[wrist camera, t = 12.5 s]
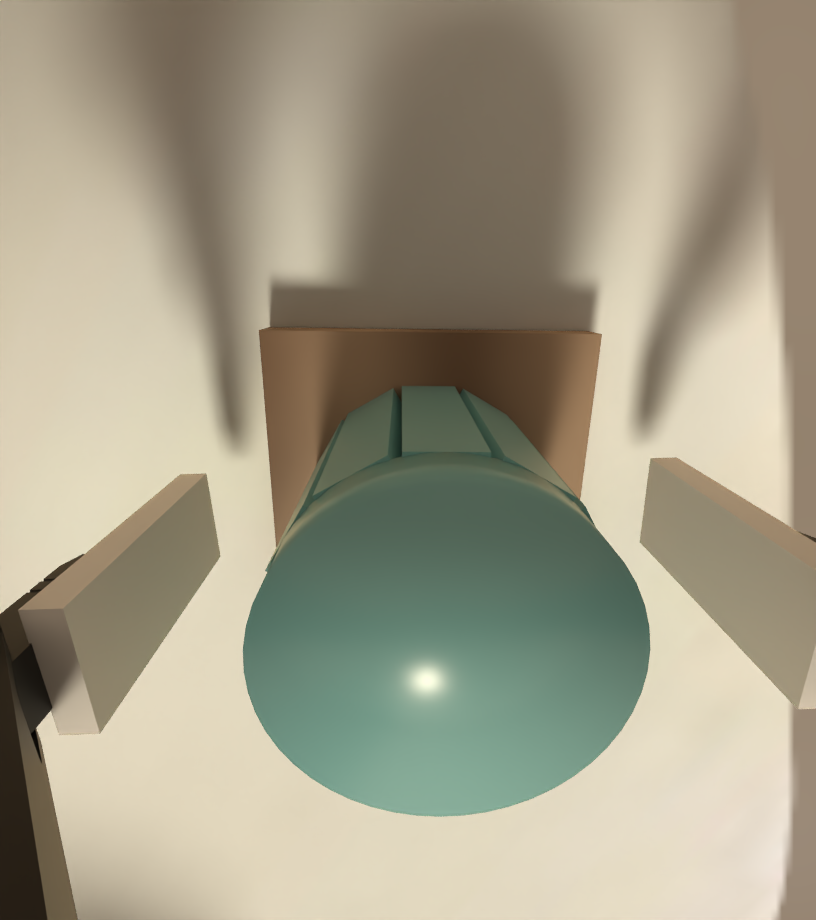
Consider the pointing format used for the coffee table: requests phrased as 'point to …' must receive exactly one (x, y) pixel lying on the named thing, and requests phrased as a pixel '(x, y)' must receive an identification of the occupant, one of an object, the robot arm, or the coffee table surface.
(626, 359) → the coffee table surface
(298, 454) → the post base
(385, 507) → the cap
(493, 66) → the coffee table surface
